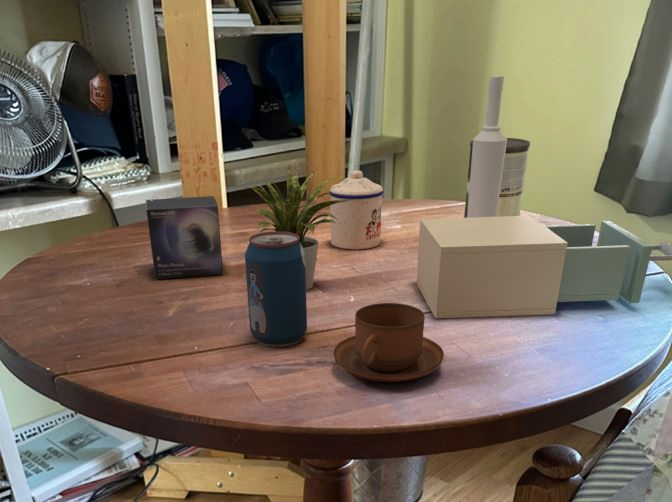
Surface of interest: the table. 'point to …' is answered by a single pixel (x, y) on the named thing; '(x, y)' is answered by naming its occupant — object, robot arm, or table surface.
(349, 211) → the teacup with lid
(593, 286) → the drawer
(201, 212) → the small box
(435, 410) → the table surface
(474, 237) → the beige box
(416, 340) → the cup and saucer
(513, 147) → the coffee can
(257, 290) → the soda can
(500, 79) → the bottle
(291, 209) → the house plant
